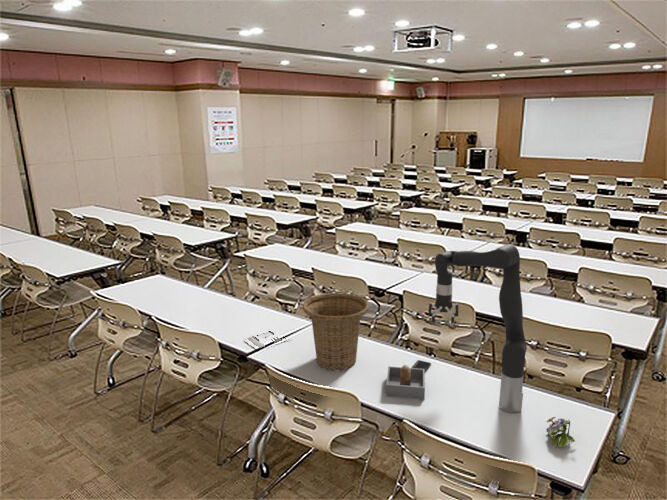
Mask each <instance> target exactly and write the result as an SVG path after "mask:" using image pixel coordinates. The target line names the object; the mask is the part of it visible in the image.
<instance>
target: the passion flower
mask: <svg viewBox="0 0 667 500" xmlns="http://www.w3.org/2000/svg"><path fill="white" fill-rule="evenodd" d="M554 419H556V416H553V417H550V418H549V419H548V420H546V423H550V422H551V423H550V424H549V425H548V427H546V428H545V429H546V430H545V431H546V432H547V433H546V434H545V437H551V439H552V446H553V447H554V448H556V446H557V445H558V446H557V448H558V449H559V448H562V447H563V448H564V447H566V446H567V445H568V444H569V445H570V444H572V443H575V442H576V441H575V438H574V437H573V436H572V435H570V427H571V421H570V419H568V420H567V419H564V418H557V420H554ZM553 420H554V421H553ZM567 427H568V428H567ZM567 429H568V431H567ZM560 432H561V433H560Z"/></svg>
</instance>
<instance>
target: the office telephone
mask: <svg viewBox="0 0 667 500" xmlns="http://www.w3.org/2000/svg"><path fill="white" fill-rule="evenodd" d="M283 337H284V336H283ZM276 338H277V339H278V340H277V339H275V338H273V339H274V340H275V341H273V340H272V339H271V340H272V341H273V342H274V343H277V342H279V341H282V340H281V339H279V338H278V337H276ZM246 339H248V340H249V341H251V342H252V343H253V344H254V345H256V346H258V347H259V348H262V347H265V345H264V344H262V343H260V342H259V341H257V340H258V339H257V340H256V338H255V339H254V337H253V336H250V337H247V338H246ZM282 339H284V338H282ZM285 339H286V337H285ZM288 340H289V339H288ZM286 341H287V340H286ZM287 342H288V341H287ZM270 343H271V342H270Z"/></svg>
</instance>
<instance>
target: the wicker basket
mask: <svg viewBox="0 0 667 500" xmlns="http://www.w3.org/2000/svg"><path fill="white" fill-rule="evenodd" d="M369 305H370V304H369V302H368V301H367V300H366V299H365V298H363V297H361V296H358V295H357V294H356V295H355V294H351V293H344V292H341V293H340V292H332V293H330V292H329V293H323V294H318V295H314V296H311V297H309V298H307V299H306V300H304V302H303V304H302V311H303V313H304V314H305V315H306V316H308V317H310V318H311V325H312V332H313V333H312V334H313V340H314V341H313V342H314V348H315V349H314V350H315V356H316V357H315V358H316V363H317V364H318V366H319V367H322V369H328V370H329V371H332V370H334V371H339V370H340V369H341V370H342V371H343V370H346V369H351V367H352V366H354V365H355V363H356V362H357V361H356V360H357V354H358V344H359V336H360V327H361V325H360V323H361V317H362V316H364V315H366V314H367V313H368V311H369V308H370V306H369Z"/></svg>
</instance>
